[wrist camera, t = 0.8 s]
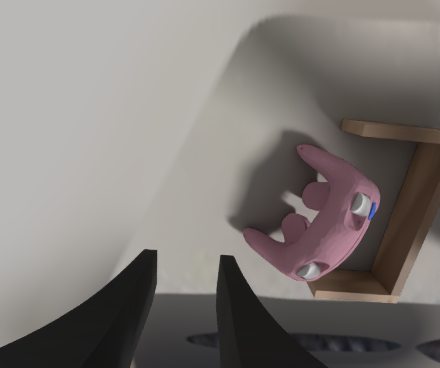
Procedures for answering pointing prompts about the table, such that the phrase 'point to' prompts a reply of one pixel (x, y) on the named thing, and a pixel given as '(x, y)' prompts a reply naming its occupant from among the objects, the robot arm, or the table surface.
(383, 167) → the table surface
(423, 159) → the docking cradle
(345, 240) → the video game controller
